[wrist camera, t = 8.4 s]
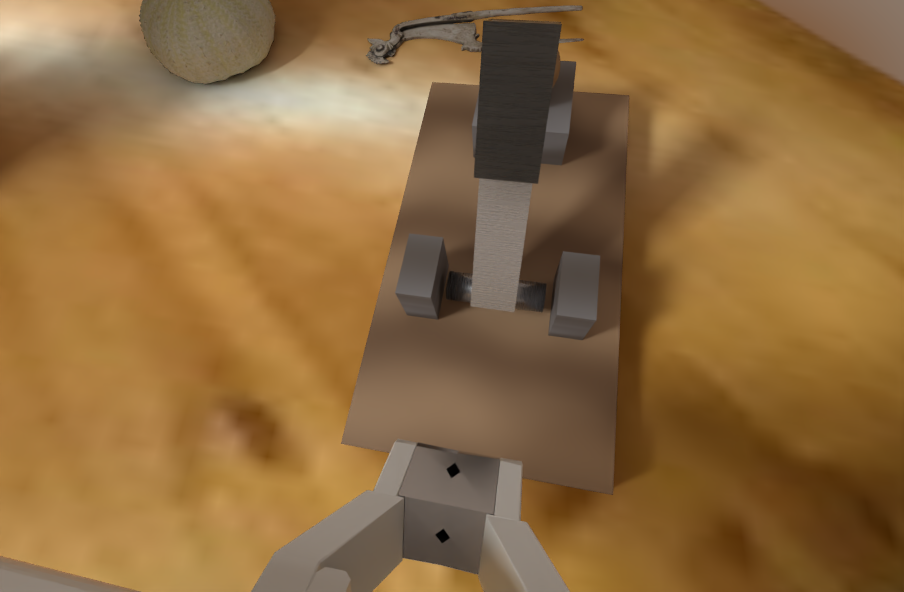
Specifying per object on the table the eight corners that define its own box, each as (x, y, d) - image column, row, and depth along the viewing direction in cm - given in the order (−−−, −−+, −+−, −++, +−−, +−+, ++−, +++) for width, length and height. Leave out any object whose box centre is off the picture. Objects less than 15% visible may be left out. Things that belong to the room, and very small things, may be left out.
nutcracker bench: (601, 492, 20) (663, 504, 13) (353, 445, 22) (287, 434, 15) (619, 120, 28) (664, -1, 21) (435, 106, 30) (418, -10, 22)
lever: (541, 330, 20) (598, 26, 13) (441, 316, 20) (449, 18, 14) (542, 301, 22) (592, 23, 15) (451, 289, 22) (461, 17, 16)
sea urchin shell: (192, -32, 34) (203, -106, 28) (280, 50, 38) (308, 2, 32) (112, 46, 32) (104, -16, 25) (216, 126, 36) (232, 91, 29)
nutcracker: (586, 1, 32) (594, 48, 30) (583, 13, 33) (591, 59, 31) (368, 13, 33) (361, 59, 31) (370, 24, 34) (364, 70, 32)
